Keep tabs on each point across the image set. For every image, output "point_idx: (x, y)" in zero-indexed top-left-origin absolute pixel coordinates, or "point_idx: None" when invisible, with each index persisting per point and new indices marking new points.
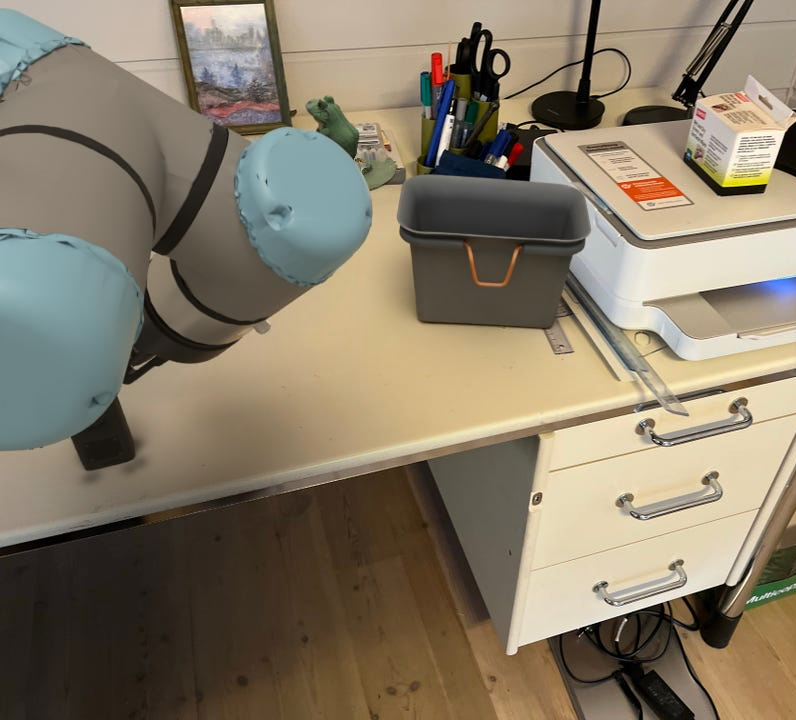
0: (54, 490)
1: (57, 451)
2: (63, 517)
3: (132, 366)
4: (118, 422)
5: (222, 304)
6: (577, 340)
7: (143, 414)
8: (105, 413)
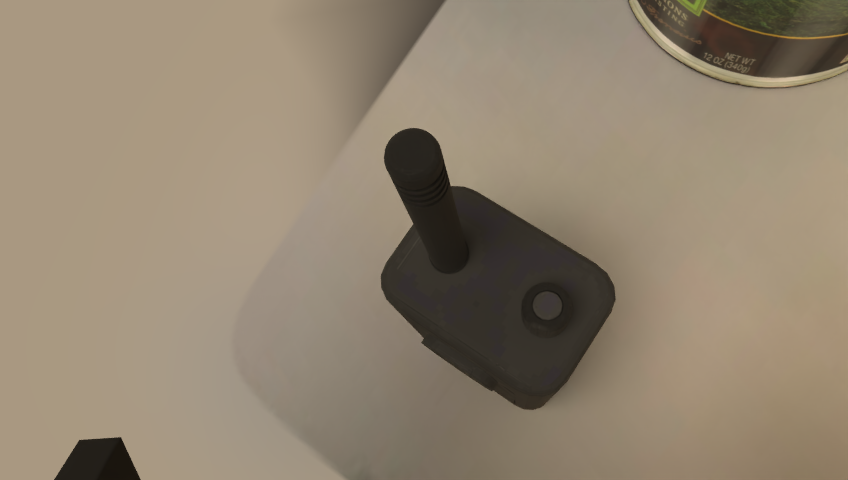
0: (340, 330)
1: None
2: (295, 429)
3: (771, 86)
4: (532, 403)
5: None
6: None
7: (666, 280)
8: (505, 387)
